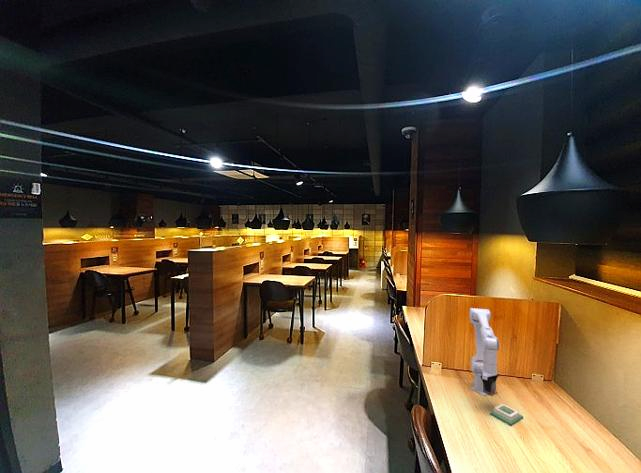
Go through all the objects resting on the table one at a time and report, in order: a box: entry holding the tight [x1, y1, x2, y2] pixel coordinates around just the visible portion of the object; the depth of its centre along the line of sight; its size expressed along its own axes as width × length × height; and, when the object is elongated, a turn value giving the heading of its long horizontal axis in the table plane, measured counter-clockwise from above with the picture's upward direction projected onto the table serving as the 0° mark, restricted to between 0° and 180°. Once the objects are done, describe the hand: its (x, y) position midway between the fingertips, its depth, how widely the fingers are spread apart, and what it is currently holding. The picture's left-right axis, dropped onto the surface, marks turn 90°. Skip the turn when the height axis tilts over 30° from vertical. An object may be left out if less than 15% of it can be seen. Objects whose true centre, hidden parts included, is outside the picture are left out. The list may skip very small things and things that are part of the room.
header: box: [493, 403, 520, 421], centre depth 128 cm, size 7×7×2 cm
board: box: [489, 409, 524, 427], centre depth 128 cm, size 11×9×1 cm
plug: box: [483, 381, 499, 397], centre depth 135 cm, size 4×6×6 cm
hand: (489, 389), depth 135 cm, fingers closed on plug, 5 cm apart
